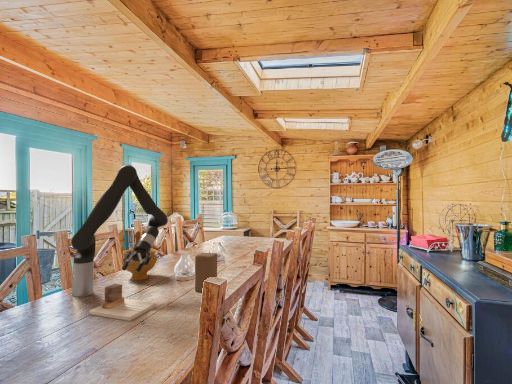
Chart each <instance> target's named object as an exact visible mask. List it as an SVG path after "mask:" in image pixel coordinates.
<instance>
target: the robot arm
mask: <svg viewBox="0 0 512 384" xmlns="http://www.w3.org/2000/svg"><path fill="white" fill-rule="evenodd" d="M128 188H130V189H131V191H132V192H133V194H134V195H135V197H136V200H137V202H138V203H139V204H140V206H141V209H143V211H144V213H145V214H147V215H151V217H150V219H148V222H147V226H146V229H145V230H144V231H145V232H144V234H143V236H141V238H140V240H139V242H138V243H137V245H136V247H135V250H134V252H130V251H128V252H127V254H126V255H124V256H125V257H124V256H123V257H124V258H123V257H122V259H123V261H124V262H125V263H124V265H123V264H122V266H121V270H123V271H127V270H126V268H127V267H128V264H130V263H131V262H134V261H140V264H139V265H138V267H137V268H136V271H137V272H139V271H140V270H141V269H142V267H143V266H144V265H148V263H149V261H150V259H151V257H152V255H151V254H150V253H149V251H150V250H151V248H152V249H153V246H154V244H155V241H156V240H157V237H158V236H159V233H160V231H159V228H160V227H164V226H167V224H168V222H169V221H168V220H169V219H168V217H167V214H166V213H165V212H164V211H163V210H162V209H161V208H159V206H157V204H156V203H155V202H154V200H153V198H152V197H151V195H150V194H149V192H148V191H147V189H146V188H145V187H144V185H143V183H142V181H141V179H140V177H139V175H138V171H137V169H136V168H135V166H133V165H131V164H124V165H122V166H121V167H120V168H119V170H118V172H117V174H116V176H115V178H114V180H113V181H112V183H111V185H110V186H108V189H107V190H106V191H105V192H104V193H103V194H102V195H101V197H100V198H99V199H98V201H96V203H95V205H94V206H93V209H92V210H91V212H90V213H89V214H88V216H87V218H86V220H85V222H84V223H83V224H82V226H81V227H80V228H79V229H78V230H77V231H76V232H75V234H74V235H73V236H72V239H71V241H70V242H71V247H72V248H73V249H74V250H76V253H75V256H74V257H73V276H72V277H71V279H72V280H71V296H73V297H76V298H77V297H78V298H83V297H88V296H91V295H93V294H94V274H95V273H94V270H95V269H94V263H95V262H94V261H95V259H94V258H95V255H96V244H97V243H96V236H95V234H96V233H97V231H98V229H100V227H102V225H103V224H104V223H106V222H107V220H108V219H109V218H110V217H111V216H112V214H113V213H114V212H115V210H116V208H117V207H118V205H119V204H120V201H121V200H122V197H123V195H124V194H125V192H126V190H127V189H128ZM145 257H146V258H145ZM131 258H132V259H131ZM144 258H145V260H144ZM129 260H130V261H129ZM128 261H129V262H128ZM146 261H147V262H146Z"/></svg>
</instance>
